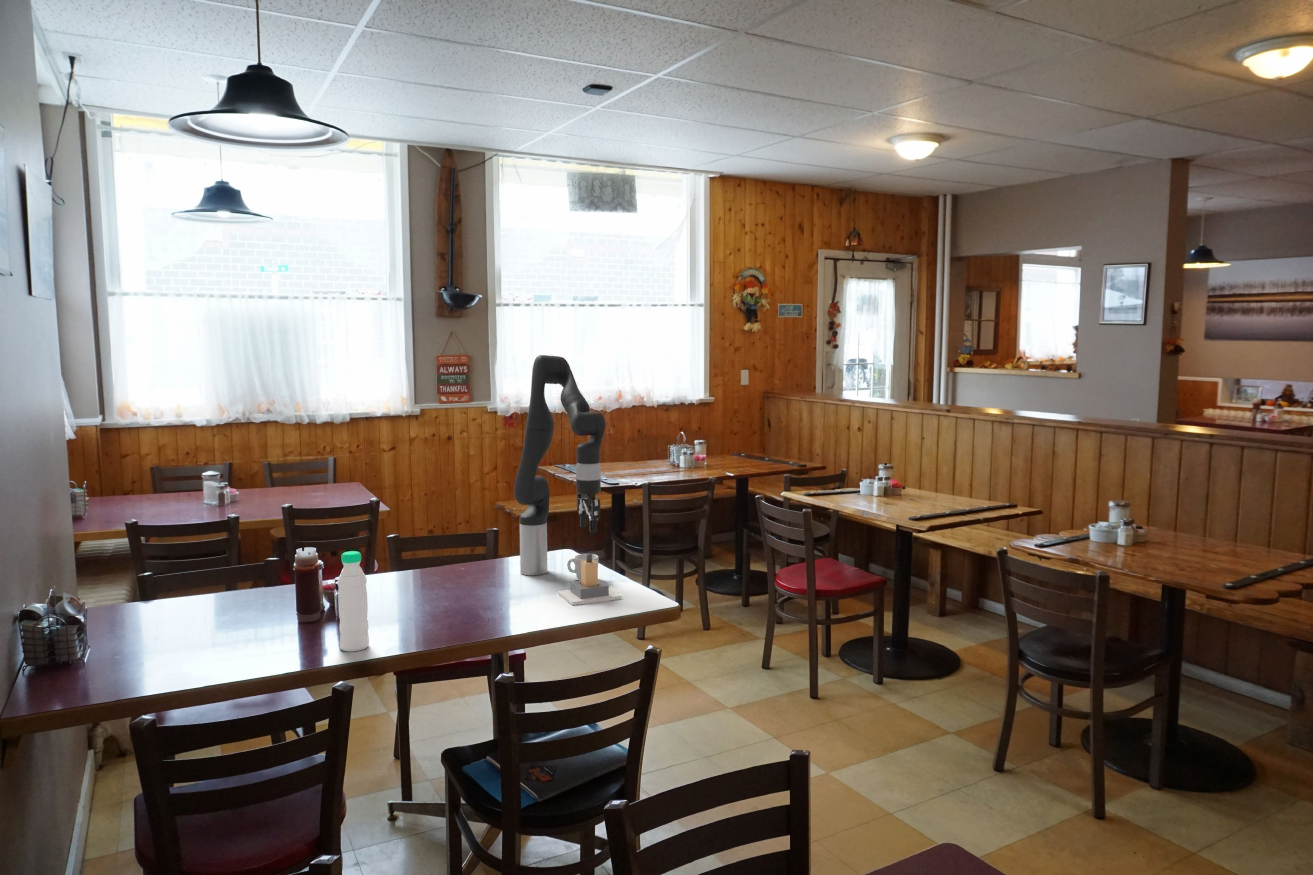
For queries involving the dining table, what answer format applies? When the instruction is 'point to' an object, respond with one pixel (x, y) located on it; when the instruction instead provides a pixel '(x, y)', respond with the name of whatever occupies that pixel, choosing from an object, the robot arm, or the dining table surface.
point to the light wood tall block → (589, 572)
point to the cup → (577, 563)
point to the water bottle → (352, 604)
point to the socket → (588, 593)
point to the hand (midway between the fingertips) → (588, 529)
